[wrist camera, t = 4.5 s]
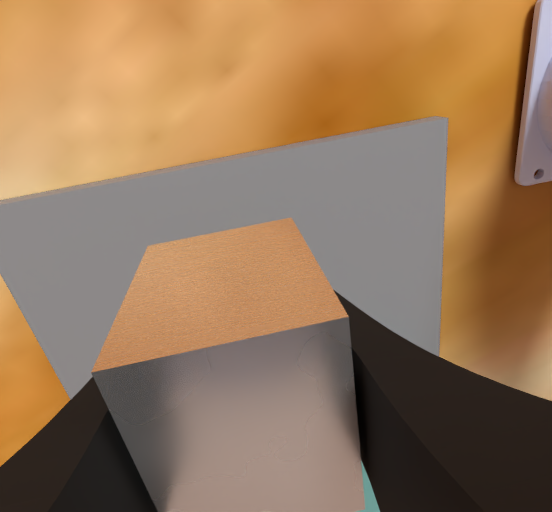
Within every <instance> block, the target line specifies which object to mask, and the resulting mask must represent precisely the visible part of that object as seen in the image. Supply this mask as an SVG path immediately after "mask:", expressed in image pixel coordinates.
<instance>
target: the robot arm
mask: <svg viewBox="0 0 552 512" xmlns="http://www.w3.org/2000/svg"><path fill="white" fill-rule="evenodd" d="M536 170H538V172H537V174H536V175H535V176H534V173H535V172H536ZM514 178H515V182H516V183H517V184H519V185H523V186H529V185H534V184H539V183H543V182H548V181H552V0H537V2H536V5H535V8H534V17H533V25H532V33H531V42H530V50H529V58H528V67H527V75H526V84H525V92H524V100H523V109H522V117H521V125H520V134H519V142H518V150H517V159H516V167H515V175H514ZM334 292H335V294H336V295H337V297H338V299H339V301H340V302H341V304H342V306H343V308H344V309H345V311H346V313H347V315H348V316H349V326H350V337H351V349H352V361H353V372H354V384H355V395H356V407H357V419H358V430H359V442H360V454H361V461H362V463H363V466H364V468H365V471H366V473H367V476H368V478H369V481H370V483H371V486H372V489H373V492H374V495H375V498H376V501H377V504H378V507H379V510H380V512H552V401H549V400H546V399H543V398H540V397H537V396H534V395H531V394H528V393H525V392H522V391H520V390H517V389H514V388H511V387H508V386H506V385H503V384H501V383H498V382H496V381H493V380H491V379H488V378H486V377H483V376H481V375H478V374H476V373H473V372H471V371H469V370H466V369H464V368H462V367H459V366H457V365H455V364H453V363H451V362H449V361H447V360H445V359H443V358H441V357H438V356H436V355H434V354H432V353H430V352H428V351H426V350H424V349H423V348H421V347H419V346H417V345H415V344H413V343H412V342H410V341H408V340H407V339H405V338H403V337H401V336H400V335H398V334H396V333H394V332H393V331H391V330H390V329H388V328H387V327H385V326H384V325H382V324H381V323H379V322H378V321H376V320H375V319H373V318H372V317H370V316H369V315H367V314H366V313H365V312H363V311H362V310H360V309H359V308H358V307H356V306H355V305H354V304H352V303H351V302H350V301H348V300H347V299H346V298H344V297H343V296H342V295H340V294H339V293H337V292H336V291H335V290H334ZM0 512H158V511H157V509H156V507H155V505H154V503H153V501H152V498H151V496H150V494H149V492H148V490H147V488H146V486H145V484H144V482H143V480H142V478H141V476H140V473H139V471H138V469H137V467H136V465H135V463H134V461H133V459H132V457H131V455H130V453H129V451H128V448H127V446H126V444H125V442H124V440H123V438H122V436H121V434H120V432H119V430H118V428H117V426H116V423H115V421H114V419H113V417H112V415H111V413H110V411H109V409H108V407H107V405H106V403H105V401H104V399H103V396H102V394H101V392H100V390H99V388H98V386H97V384H96V382H95V380H94V378H93V377H92V378H91V379H90V380H89V381H88V382H87V383H86V384H85V385H84V387H83V388H82V389H81V390H80V391H79V392H78V393H77V394H76V395H75V396H74V397H73V398H72V399H71V400H70V401H69V402H68V403H67V404H66V405H65V406H64V407H63V408H62V409H61V410H60V411H59V412H58V414H57V415H56V416H55V417H54V418H53V419H52V420H51V421H50V422H49V423H48V424H47V425H46V426H45V427H44V428H43V429H42V430H40V431H39V432H38V433H37V434H36V435H35V436H34V437H33V438H32V439H31V440H30V441H29V442H28V443H27V444H25V445H24V446H23V447H22V448H21V449H20V450H19V451H18V452H16V453H15V454H14V455H13V456H12V457H11V458H10V459H9V460H8V461H6V462H5V463H4V464H3V465H2V466H1V467H0Z"/></svg>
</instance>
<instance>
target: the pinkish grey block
mask: <svg viewBox="0 0 552 512" xmlns="http://www.w3.org/2000/svg"><path fill="white" fill-rule="evenodd" d="M91 374H92V376H93V378H94V380H95V382H96V384H97V386H98V388H99V390H100V392H101V394H102V396H103V399H104V401H105V403H106V405H107V407H108V409H109V411H110V413H111V415H112V417H113V419H114V421H115V423H116V426H117V428H118V430H119V432H120V434H121V436H122V438H123V440H124V442H125V444H126V446H127V448H128V451H129V453H130V455H131V457H132V459H133V461H134V463H135V465H136V467H137V469H138V471H139V473H140V476H141V478H142V480H143V482H144V484H145V486H146V488H147V490H148V492H149V494H150V496H151V498H152V501H153V503H154V505H155V507H156V509H157V511H158V512H356V511H360V510H364V509H365V500H364V489H363V477H362V465H361V454H360V442H359V430H358V419H357V407H356V395H355V384H354V372H353V361H352V349H351V337H350V326H349V316H348V315H347V313H346V311H345V309H344V308H343V306H342V304H341V302H340V301H339V299H338V297H337V295H336V294H335V292H334V290H333V289H332V287H331V285H330V283H329V282H328V280H327V278H326V276H325V275H324V273H323V271H322V269H321V268H320V266H319V264H318V262H317V261H316V259H315V257H314V256H313V254H312V252H311V250H310V249H309V247H308V245H307V243H306V242H305V240H304V238H303V236H302V235H301V233H300V231H299V230H298V228H297V226H296V224H295V223H294V221H293V219H292V217H291V218H286V219H281V220H276V221H271V222H266V223H261V224H256V225H251V226H246V227H241V228H236V229H230V230H225V231H220V232H215V233H210V234H205V235H200V236H195V237H190V238H185V239H180V240H175V241H170V242H165V243H159V244H154V245H149V246H147V249H146V251H145V253H144V255H143V258H142V260H141V262H140V264H139V267H138V269H137V271H136V273H135V276H134V278H133V280H132V282H131V284H130V287H129V289H128V291H127V293H126V296H125V298H124V300H123V302H122V305H121V307H120V309H119V311H118V313H117V316H116V318H115V320H114V322H113V325H112V327H111V329H110V331H109V334H108V336H107V338H106V340H105V342H104V345H103V347H102V349H101V351H100V354H99V356H98V358H97V360H96V363H95V365H94V367H93V369H92V372H91Z"/></svg>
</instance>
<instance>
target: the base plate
mask: <svg viewBox="0 0 552 512" xmlns="http://www.w3.org/2000/svg"><path fill="white" fill-rule="evenodd" d="M447 135H448V118H445V117H438V116H434V117H429V118H423V119H418V120H413V121H408V122H403V123H398V124H392V125H387V126H382V127H377V128H372V129H367V130H361V131H356V132H351V133H346V134H341V135H336V136H330V137H325V138H320V139H315V140H310V141H305V142H299V143H294V144H289V145H284V146H279V147H274V148H268V149H263V150H258V151H253V152H248V153H243V154H237V155H232V156H227V157H222V158H217V159H212V160H206V161H201V162H196V163H191V164H186V165H181V166H175V167H170V168H165V169H160V170H155V171H150V172H144V173H139V174H134V175H129V176H124V177H119V178H113V179H108V180H103V181H98V182H93V183H88V184H82V185H77V186H72V187H67V188H62V189H57V190H51V191H46V192H41V193H36V194H31V195H26V196H20V197H15V198H10V199H5V200H0V274H1V276H2V278H3V279H4V281H5V283H6V285H7V287H8V288H9V290H10V292H11V294H12V296H13V297H14V299H15V301H16V303H17V304H18V306H19V308H20V310H21V312H22V313H23V315H24V317H25V319H26V321H27V322H28V324H29V326H30V328H31V330H32V331H33V333H34V335H35V337H36V338H37V340H38V342H39V344H40V346H41V347H42V349H43V351H44V353H45V355H46V356H47V358H48V360H49V362H50V364H51V365H52V367H53V369H54V371H55V373H56V374H57V376H58V378H59V380H60V381H61V383H62V385H63V387H64V389H65V390H66V392H67V394H68V396H69V398H70V399H72V398H73V397H74V396H75V395H76V394H77V393H78V392H79V391H80V390H81V389H82V388H83V387H84V385H85V384H86V383H87V382H88V381H89V380H90V379H91V378H92V377H93V376H92V374H91V372H92V369H93V367H94V365H95V363H96V360H97V358H98V356H99V354H100V351H101V349H102V347H103V345H104V342H105V340H106V338H107V336H108V334H109V331H110V329H111V327H112V325H113V322H114V320H115V318H116V316H117V313H118V311H119V309H120V307H121V305H122V302H123V300H124V298H125V296H126V293H127V291H128V289H129V287H130V284H131V282H132V280H133V278H134V276H135V273H136V271H137V269H138V267H139V264H140V262H141V260H142V258H143V255H144V253H145V251H146V249H147V246H149V245H154V244H159V243H165V242H170V241H175V240H180V239H185V238H190V237H195V236H200V235H205V234H210V233H215V232H220V231H225V230H230V229H236V228H241V227H246V226H251V225H256V224H261V223H266V222H271V221H276V220H281V219H286V218H291V217H292V219H293V221H294V223H295V224H296V226H297V228H298V230H299V231H300V233H301V235H302V236H303V238H304V240H305V242H306V243H307V245H308V247H309V249H310V250H311V252H312V254H313V256H314V257H315V259H316V261H317V262H318V264H319V266H320V268H321V269H322V271H323V273H324V275H325V276H326V278H327V280H328V282H329V283H330V285H331V287H332V289H333V290H335V291H336V292H337V293H339V294H340V295H342V296H343V297H344V298H346V299H347V300H348V301H350V302H351V303H352V304H354V305H355V306H356V307H358V308H359V309H360V310H362V311H363V312H365V313H366V314H367V315H369V316H370V317H372V318H373V319H375V320H376V321H378V322H379V323H381V324H382V325H384V326H385V327H387V328H388V329H390V330H391V331H393V332H394V333H396V334H398V335H400V336H401V337H403V338H405V339H407V340H408V341H410V342H412V343H413V344H415V345H417V346H419V347H421V348H423V349H424V350H426V351H428V352H430V353H432V354H434V355H436V356H438V357H439V345H440V319H441V293H442V266H443V240H444V214H445V187H446V161H447Z"/></svg>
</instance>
